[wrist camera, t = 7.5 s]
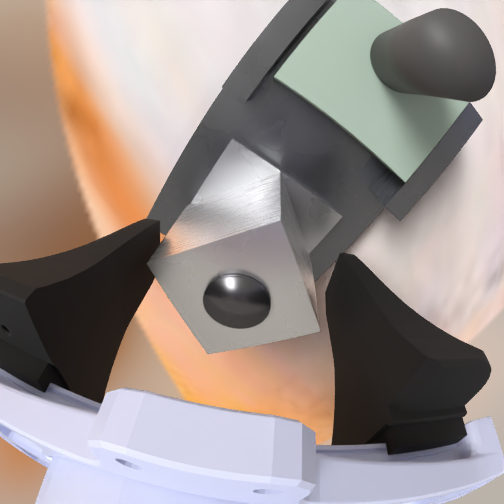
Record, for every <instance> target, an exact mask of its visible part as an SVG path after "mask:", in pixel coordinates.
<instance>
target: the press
mask: <svg viewBox="0 0 504 504" xmlns="http://www.w3.org/2000/svg"><path fill="white" fill-rule="evenodd" d="M336 1H337V0H289V1H288V2H287V3H286V4H285V5H284V6H283V8H282V9H281V10H280V11H279V12H278V13H277V15H276V16H275V17H274V18H273V19H272V21H271V22H270V23H269V24H268V26H267V27H266V28H265V29H264V31H263V32H262V33H261V34H260V36H259V37H258V38H257V39H256V41H255V42H254V43H253V45H252V46H251V47H250V48H249V50H248V51H247V52H246V54H245V55H244V56H243V58H242V59H241V61H240V62H239V63H238V65H237V66H236V67H235V69H234V70H233V72H232V73H231V74H230V76H229V77H228V79H227V80H226V82H225V83H224V84H223V86H222V88H223V89H222V91H221V92H220V93H219V95H218V96H217V98H216V99H215V101H214V102H213V104H212V106H211V107H210V109H209V110H208V112H207V113H206V115H205V116H204V118H203V119H202V121H201V123H200V124H199V126H198V127H197V129H196V131H195V132H194V134H193V136H192V137H191V139H190V141H189V142H188V144H187V146H186V147H185V149H184V151H183V152H182V154H181V156H180V158H179V159H178V161H177V163H176V165H175V166H174V168H173V170H172V172H171V173H170V175H169V177H168V179H167V181H166V183H165V184H164V186H163V188H162V190H161V192H160V194H159V196H158V198H157V200H156V201H155V203H154V205H153V207H152V209H151V211H150V213H149V215H148V217H147V219H152V220H158V221H160V232H161V233H162V234H164V235H165V236H166V235H167V233H168V232H169V230H170V229H171V228H172V226H173V225H174V223H175V222H176V220H177V219H178V218H179V216H180V215H181V213H182V212H183V211H184V209H185V208H186V207H187V205H189V204H191V203H194V202H197V201H199V200H202V199H204V198H207V197H210V196H212V195H215V194H218V193H220V192H223V191H226V190H229V189H231V188H234V187H237V186H240V185H242V184H245V183H248V182H251V181H254V180H257V179H260V178H263V177H265V176H268V175H271V174H274V173H277V172H280V173H281V175H282V178H283V181H284V183H285V186H286V189H287V191H288V194H289V197H290V200H291V202H292V205H293V208H294V211H295V214H296V216H297V219H298V222H299V225H300V228H301V231H302V234H303V237H304V239H305V242H306V245H307V248H308V251H309V254H310V258H311V264H312V271H313V277H314V282H315V281H316V280H317V279H318V278H319V277H320V276H321V275H322V274H323V273H324V272H325V271H326V270H327V269H328V268H329V267H330V266H331V265H332V264H333V263H334V262H335V261H336V260H337V259H338V256H339V254H340V252H341V253H343V252H344V251H345V250H346V249H347V248H348V247H349V246H350V245H351V244H352V243H353V242H354V241H355V240H356V239H357V238H358V236H359V235H360V234H361V233H362V232H363V231H364V230H365V229H366V228H367V227H368V226H369V225H370V223H371V222H372V221H373V220H374V219H375V218H376V217H377V216H378V215H379V214H380V212H381V211H382V210H383V209H384V208H387V209H388V210H389V211H390V212H391V213H392V214H393V215H394V216H395V217H396V218H397V219H399V220H400V221H401V220H402V219H403V218H404V216H405V215H406V214H407V213H408V212H409V211H410V210H411V209H412V207H413V206H414V205H415V204H416V203H417V202H418V201H419V199H420V198H421V197H422V196H423V195H424V194H425V193H426V191H427V190H428V189H429V188H430V187H431V185H432V184H433V183H434V182H435V181H436V179H437V178H438V177H439V176H440V175H441V173H442V172H443V171H444V170H445V169H446V167H447V166H448V165H449V164H450V162H451V161H452V160H453V159H454V157H455V156H456V155H457V153H458V152H459V151H460V150H461V148H462V147H463V146H464V144H465V143H466V142H467V140H468V139H469V138H470V136H471V135H472V134H473V132H474V131H475V130H476V128H477V127H478V126H479V124H480V123H481V121H482V120H483V119H482V118H481V117H480V115H479V114H478V112H477V111H476V110H475V108H474V107H473V106H472V104H471V103H470V102H469V103H468V104H467V106H466V107H465V108H464V110H463V111H462V112H461V114H460V115H459V116H458V118H457V119H456V120H455V122H454V123H453V124H452V126H451V127H450V128H449V129H448V131H447V132H446V133H445V135H444V136H443V137H442V138H441V140H440V141H439V142H438V143H437V145H436V146H435V147H434V148H433V150H432V151H431V152H430V153H429V155H428V156H427V157H426V158H425V160H424V161H423V162H422V163H421V164H420V166H419V167H418V168H417V169H416V170H415V172H414V173H413V174H412V175H411V176H410V178H409V179H408V180H407V181H406V182H404V181H403V180H402V179H401V178H400V177H398V176H397V175H396V174H395V173H394V172H392V171H391V170H390V169H389V168H387V167H386V166H385V165H384V164H383V163H382V162H381V161H380V160H379V159H378V158H377V157H375V156H374V155H373V154H372V153H371V152H370V151H369V150H368V149H366V148H365V147H364V146H363V145H362V144H361V143H360V142H358V141H357V140H356V139H355V138H354V137H352V136H351V135H350V134H349V133H348V132H346V131H345V130H344V129H343V128H341V127H340V126H339V125H338V124H336V123H335V122H334V121H333V120H331V119H330V118H329V117H327V116H326V115H325V114H324V113H322V112H321V111H320V110H318V109H317V108H316V107H314V106H313V105H311V104H310V103H309V102H307V101H306V100H305V99H303V98H302V97H300V96H299V95H297V94H296V93H295V92H293V91H292V90H290V89H289V88H287V87H286V86H284V85H283V84H281V83H280V82H278V81H277V80H275V78H274V76H275V74H276V73H277V72H278V71H279V69H280V68H281V67H282V65H283V64H284V63H285V62H286V60H287V59H288V58H289V56H290V55H291V54H292V53H293V51H294V50H295V49H296V48H297V47H298V45H299V44H300V43H301V42H302V40H303V39H304V38H305V37H306V36H307V34H308V33H309V32H310V31H311V30H312V28H313V27H314V26H315V25H316V24H317V23H318V21H319V20H320V19H321V18H322V17H323V16H324V14H325V13H326V12H327V11H328V10H329V9H330V8H331V7H332V5H333V4H334V3H335V2H336Z"/></svg>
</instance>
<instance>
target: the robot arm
mask: <svg viewBox="0 0 504 504" xmlns="http://www.w3.org/2000/svg"><path fill="white" fill-rule="evenodd" d="M159 245H160V221H158V220H152V219H143V220H140V221H138V222H136V223H133V224H131V225H129V226H127V227H125V228H122V229H120V230H118V231H116V232H114V233H112V234H110V235H107V236H105V237H103V238H100V239H98V240H96V241H93V242H91V243H89V244H87V245H84V246H81V247H78V248H75V249H73V250H69V251H66V252H63V253H59V254H55V255H52V256H47V257H43V258H39V259H34V260H28V261H21V262H13V263H1V264H0V437H2V438H3V439H5V440H6V441H7V442H9V443H10V444H11V445H13V446H14V447H16V448H17V449H18V450H20V451H21V452H23V453H24V454H26V455H28V456H29V457H31V458H32V459H34V460H35V461H37V462H39V463H40V464H42V465H44V466H45V467H47V468H48V470H47V473H46V475H45V477H44V480H43V483H42V486H41V489H40V491H39V494H38V497H37V500H36V503H35V504H443V503H446V502H449V501H451V500H455V499H457V498H460V497H462V496H464V495H466V494H468V493H470V492H472V491H474V490H476V489H478V488H479V487H481V486H483V485H485V484H487V483H488V482H490V481H492V480H493V479H495V478H497V477H499V476H500V475H502V474H503V473H504V457H503V453H502V450H501V446H500V443H499V439H498V436H497V433H496V430H495V427H494V424H493V421H492V418H491V417H485V418H481V419H476V420H473V421H470V422H468V423H466V424H464V422H463V418H462V417H464V416H465V415H466V414H467V411H466V408H465V404H467V403H468V402H469V401H470V400H471V399H472V398H473V397H474V396H475V394H477V392H479V390H481V388H482V387H483V386H484V385H485V384H486V382H487V380H488V379H489V377H490V373H491V366H490V364H489V362H488V359H487V357H486V355H485V354H484V352H483V351H482V350H480V349H478V348H476V347H474V346H471V345H469V344H467V343H465V342H463V341H461V340H459V339H457V338H455V337H453V336H451V335H450V334H448V333H446V332H444V331H443V330H441V329H439V328H438V327H436V326H435V325H433V324H432V323H430V322H429V321H427V320H426V319H424V318H423V317H422V316H420V315H419V314H418V313H416V312H415V311H414V310H413V309H411V308H410V307H409V306H408V305H406V304H405V303H404V302H403V301H402V300H401V299H399V298H398V297H397V296H396V295H395V294H394V293H393V292H392V291H391V290H390V289H389V288H388V287H387V286H386V285H385V284H384V283H383V282H382V281H381V280H380V279H379V278H378V277H377V276H376V275H375V274H374V273H373V272H372V271H371V270H370V269H369V268H368V267H367V266H366V265H365V264H364V263H363V262H362V261H361V260H360V259H358V258H357V257H356V256H355V255H352V254H346V253H341V252H340V254H339V256H338V259H337V262H336V265H335V268H334V271H333V273H332V276H331V279H330V282H329V284H328V287H327V290H326V292H325V296H326V316H327V322H328V328H329V334H330V340H331V346H332V352H333V358H334V367H335V410H334V425H333V436H332V445H316V438H315V432H314V431H313V430H311V429H310V428H308V427H307V426H305V425H304V424H302V423H301V422H299V421H298V420H294V419H289V418H284V417H280V416H275V415H268V414H260V413H252V412H245V411H238V410H232V409H226V408H220V407H215V406H209V405H204V404H199V403H195V402H190V401H185V400H181V399H177V398H173V397H168V396H164V395H161V394H156V393H153V392H149V391H144V390H137V389H131V388H121V389H118V390H114V391H111V392H107V394H106V396H105V398H104V395H105V390H106V387H107V383H108V380H109V376H110V373H111V369H112V366H113V363H114V360H115V358H116V355H117V352H118V349H119V346H120V343H121V341H122V339H123V336H124V334H125V331H126V329H127V327H128V325H129V323H130V321H131V319H132V318H133V316H134V314H135V312H136V311H137V309H138V307H139V305H140V304H141V302H142V300H143V298H144V297H145V295H146V293H147V292H148V290H149V288H150V286H151V285H152V283H153V280H154V278H155V276H154V275H153V273H152V271H151V270H150V268H149V267H148V265H147V263H148V261H149V260H150V258H151V257H152V255H153V254H154V252H155V251H156V249H157V248H158V246H159ZM103 399H104V400H103Z"/></svg>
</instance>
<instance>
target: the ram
mask: <svg viewBox="0 0 504 504" xmlns="http://www.w3.org/2000/svg"><path fill="white" fill-rule="evenodd" d="M495 74H496V64H495V58H494V54H493V50H492V48H491V45H490V43H489V41H488V39H487V37H486V36H485V34H484V33H483V31H482V30H481V29H480V28H479V26H478V25H477V24H476V23H475V22H474V21H472V20H471V19H470V18H469V17H467V16H466V15H464V14H462V13H461V12H458V11H456V10H453V9H447V8H440V9H436V10H433V11H431V12H428V13H426V14H423V15H421V16H418V17H416V18H414V19H411V20H409V21H407V22H405V23H402V22H401V21H400V20H399V19H397V18H396V17H395V16H394V15H393V14H391V13H390V12H389V11H388V10H387V9H385V8H384V7H383V6H382V5H380V4H379V3H378V2H376V1H375V0H337V1H336V2H335V3H334V4H333V5H332V7H331V8H330V9H329V10H328V11H327V12H326V13H325V14H324V16H323V17H322V18H321V19H320V20H319V21H318V23H317V24H316V25H315V26H314V27H313V28H312V30H311V31H310V32H309V33H308V34H307V36H306V37H305V38H304V39H303V40H302V42H301V43H300V44H299V45H298V47H297V48H296V49H295V50H294V51H293V53H292V54H291V55H290V56H289V58H288V59H287V60H286V62H285V63H284V64H283V65H282V67H281V68H280V69H279V71H278V72H277V73H276V74H275V76H274V78H275V80H277V81H278V82H280V83H281V84H283V85H284V86H286V87H287V88H289V89H290V90H292V91H293V92H295V93H296V94H297V95H299V96H300V97H302V98H303V99H305V100H306V101H307V102H309V103H310V104H311V105H313V106H314V107H316V108H317V109H318V110H320V111H321V112H322V113H324V114H325V115H326V116H327V117H329V118H330V119H331V120H333V121H334V122H335V123H336V124H338V125H339V126H340V127H341V128H343V129H344V130H345V131H346V132H348V133H349V134H350V135H351V136H352V137H354V138H355V139H356V140H357V141H358V142H360V143H361V144H362V145H363V146H364V147H365V148H366V149H368V150H369V151H370V152H371V153H372V154H373V155H374V156H375V157H377V158H378V159H379V160H380V161H381V162H382V163H383V164H384V165H385V166H386V167H387V168H389V169H390V170H391V171H392V172H394V173H395V174H396V175H397V176H398V177H400V178H401V179H402V180H403V181H404V182H406V181H407V180H408V179H409V178H410V176H411V175H412V174H413V173H414V172H415V170H416V169H417V168H418V167H419V166H420V164H421V163H422V162H423V161H424V160H425V158H426V157H427V156H428V155H429V153H430V152H431V151H432V150H433V148H434V147H435V146H436V145H437V143H438V142H439V141H440V140H441V138H442V137H443V136H444V135H445V133H446V132H447V131H448V129H449V128H450V127H451V126H452V124H453V123H454V122H455V120H456V119H457V118H458V116H459V115H460V114H461V112H462V111H463V110H464V108H465V107H466V106H467V104H468V103H469V102H474V101H478V100H480V99H482V98H484V97H485V96H486V95H487V94H488V93H489V91H490V90H491V88H492V86H493V84H494V80H495Z"/></svg>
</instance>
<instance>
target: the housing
mask: <svg viewBox="0 0 504 504" xmlns="http://www.w3.org/2000/svg"><path fill="white" fill-rule="evenodd" d="M147 265H148V267H149V268H150V270H151V271H152V273H153V275H154V276H155V278H156V279H157V281H158V282H159V284H160V286H161V287H162V289H163V290H164V292H165V293H166V295H167V296H168V298H169V299H170V301H171V302H172V304H173V305H174V307H175V308H176V310H177V311H178V313H179V314H180V316H181V317H182V319H183V320H184V322H185V323H186V324H187V326H188V327H189V329H190V330H191V332H192V333H193V334H194V336H195V337H196V339H197V340H198V341H199V343H200V344H201V345H202V347H203V348H204V350H205V351H206V352H207V354H212V353H218V352H224V351H230V350H236V349H241V348H247V347H252V346H257V345H262V344H267V343H272V342H277V341H281V340H286V339H290V338H295V337H299V336H304V335H308V334H312V333H316V332H320V331H321V330H320V322H319V314H318V306H317V299H316V292H315V284H314V277H313V271H312V264H311V258H310V254H309V251H308V248H307V245H306V242H305V239H304V237H303V234H302V231H301V228H300V225H299V222H298V219H297V216H296V214H295V211H294V208H293V205H292V202H291V200H290V197H289V194H288V191H287V189H286V186H285V183H284V181H283V178H282V175H281V173H280V172H277V173H274V174H271V175H268V176H265V177H263V178H260V179H257V180H254V181H251V182H248V183H245V184H242V185H240V186H237V187H234V188H231V189H229V190H226V191H223V192H220V193H218V194H215V195H212V196H210V197H207V198H204V199H202V200H199V201H197V202H194V203H191V204H189V205H187V207H186V208H185V209H184V211H183V212H182V213H181V215H180V216H179V218H178V219H177V220H176V222H175V223H174V225H173V226H172V228H171V229H170V230H169V232H168V233H167V235H166V236H165V238H164V239H163V240H162V242H161V243H160V245H159V246H158V248H157V249H156V251H155V252H154V254H153V255H152V257H151V258H150V260H149V261H148V263H147Z"/></svg>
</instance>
